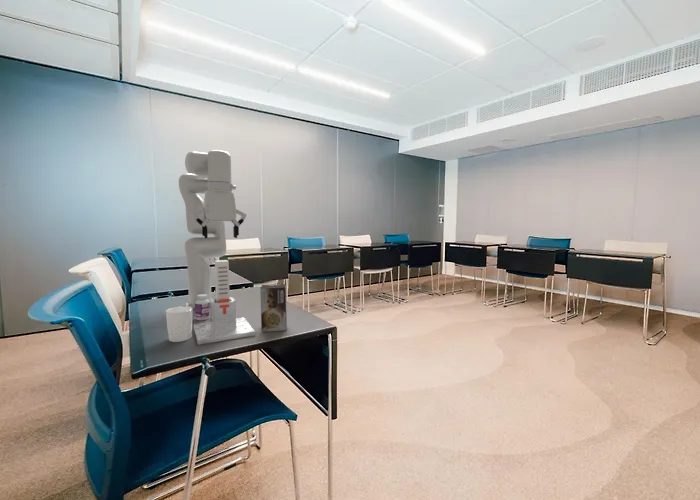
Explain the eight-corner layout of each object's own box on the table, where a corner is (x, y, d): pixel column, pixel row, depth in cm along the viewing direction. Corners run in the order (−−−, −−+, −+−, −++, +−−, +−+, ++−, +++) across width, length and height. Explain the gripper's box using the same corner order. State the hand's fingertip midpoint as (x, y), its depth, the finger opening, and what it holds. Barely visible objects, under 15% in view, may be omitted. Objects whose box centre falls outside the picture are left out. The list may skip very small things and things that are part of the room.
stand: (193, 328, 118) (192, 294, 117) (244, 321, 127) (243, 290, 125) (197, 344, 102) (196, 306, 101) (254, 335, 111) (254, 300, 110)
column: (215, 310, 114) (213, 260, 113) (228, 308, 117) (227, 259, 115) (217, 313, 111) (215, 262, 109) (230, 311, 113) (229, 261, 111)
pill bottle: (204, 321, 126) (203, 297, 125) (192, 320, 127) (191, 296, 126) (212, 317, 131) (212, 294, 130) (201, 316, 132) (200, 293, 131)
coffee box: (287, 325, 122) (286, 283, 121) (286, 330, 116) (286, 287, 115) (262, 326, 121) (261, 284, 119) (260, 332, 115) (260, 287, 113)
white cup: (165, 344, 102) (164, 313, 101) (168, 336, 109) (167, 307, 108) (192, 340, 105) (191, 311, 104) (194, 333, 113) (193, 305, 112)
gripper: (243, 190, 117) (244, 236, 119) (191, 187, 109) (192, 237, 110) (248, 188, 111) (248, 238, 113) (192, 185, 102) (194, 239, 104)
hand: (220, 237), depth 111 cm, fingers open, 9 cm apart
